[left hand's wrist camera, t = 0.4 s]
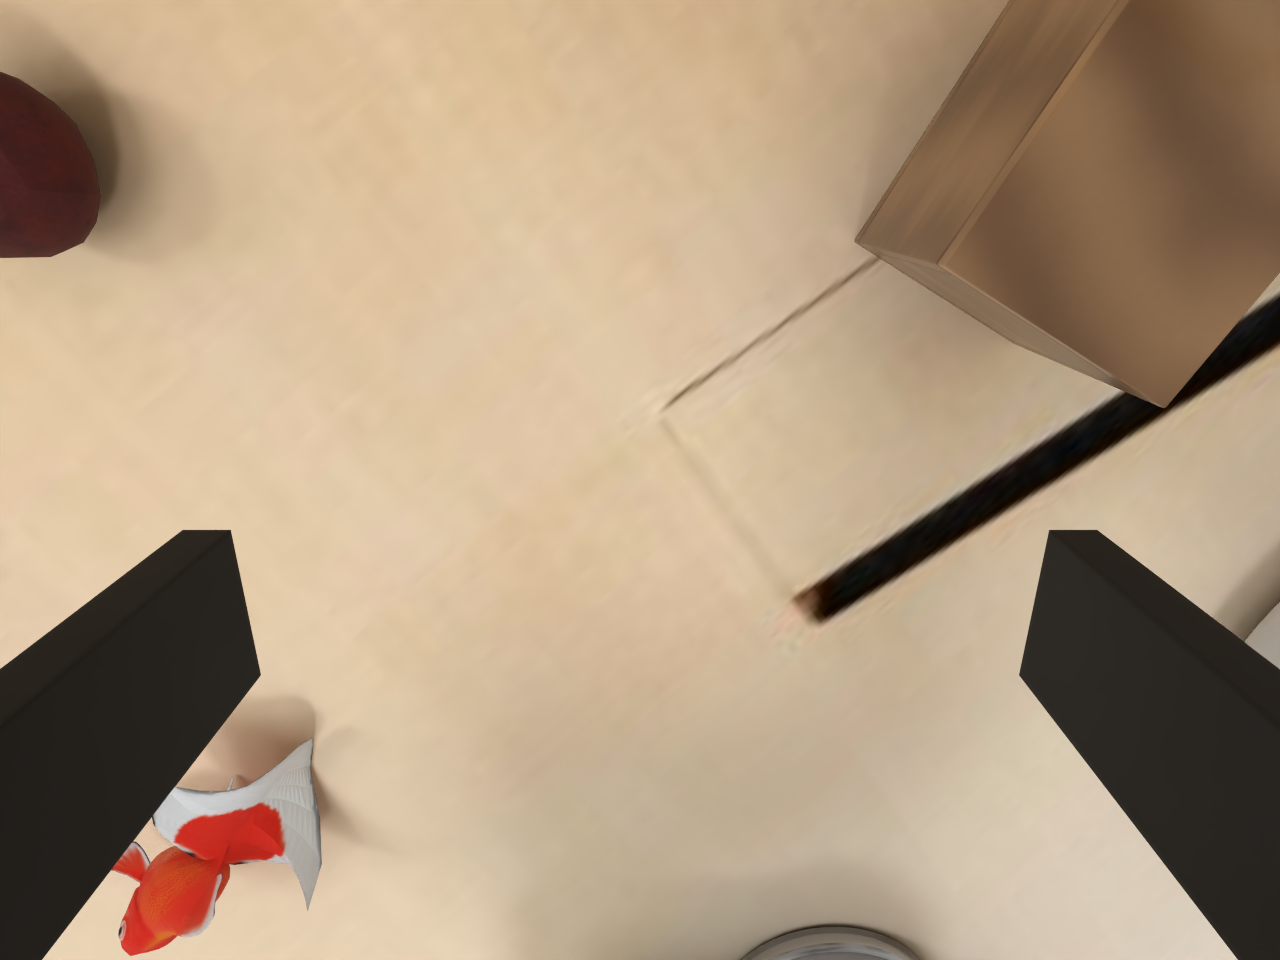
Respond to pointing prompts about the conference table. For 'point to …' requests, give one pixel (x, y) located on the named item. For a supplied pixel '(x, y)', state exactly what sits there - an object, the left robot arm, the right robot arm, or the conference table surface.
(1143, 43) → the lid
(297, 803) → the red white rounded piece
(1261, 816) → the left robot arm
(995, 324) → the chest
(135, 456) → the conference table surface
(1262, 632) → the projector
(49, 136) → the dark maroon ball
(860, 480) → the conference table surface
